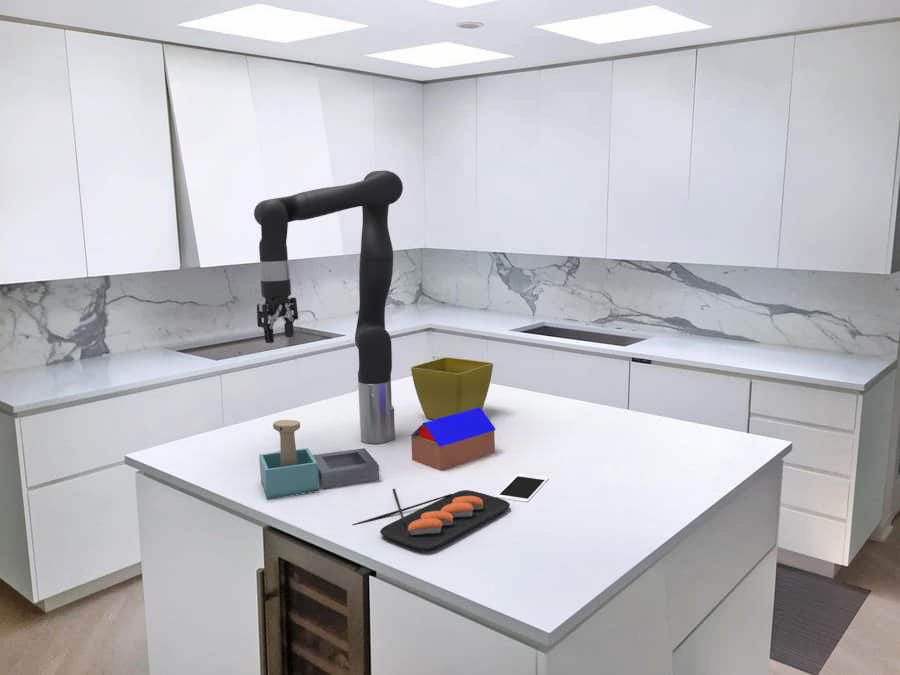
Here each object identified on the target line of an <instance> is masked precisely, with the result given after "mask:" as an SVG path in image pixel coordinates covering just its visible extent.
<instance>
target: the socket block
mask: <svg viewBox="0 0 900 675" xmlns="http://www.w3.org/2000/svg"><path fill="white" fill-rule="evenodd" d="M312 455H313V457H314V458H315V460H316V462H317V463H318V481H319V487H322V488H321V490H326V489H325V488H328V489H334V487H335V488H341V487H346V486H353V485H359V484H366V483H372V482H373V483H374V482H379V481H380V464H379V463H378V462H377V461H376V459H374V457H373V456H372V455H371V454H370V453H369V451H368V450H367V449H366V447H362V448H355V449H348V450H340V451H334V452H326V453H319V454H318V453H317V454H312Z"/></svg>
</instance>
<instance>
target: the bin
mask: <svg viewBox="0 0 900 675" xmlns="http://www.w3.org/2000/svg"><path fill="white" fill-rule="evenodd" d="M296 453H297V463H298V464H297V465H293V466H285V467H281V462H280V461H281V460H280V451H275V452H268V453H261V454H258V457H259V474H260V475H259V476H260V483H261V486H262V489H263V491H264V494H265V497H266V500H272V498H273V499H279V498H278V497H280V498H286V497H291V495H293V496H297V495H296V494H299V495H303V494H302V493H306V494H310V493H309V492H312V493H316V492H315V491H319V492H320V484H319V481H318V463H317V462H316V460H315V458H314V457H313V455H314V454H313V453H312V452H311V450H310V448H309V447H306V448H300V449H299V448H298V449H297V448H296ZM285 496H286V497H285Z"/></svg>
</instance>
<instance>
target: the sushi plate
mask: <svg viewBox="0 0 900 675" xmlns="http://www.w3.org/2000/svg"><path fill="white" fill-rule="evenodd" d="M392 493H393V495H394V500H395V502H396V504H397V507H398V510H394V511H392V512H388V513H385V514H381V515H378V516H375V517H371V518H368V519H365V520H362V521H359V522H355V523H352V526H356V525H361V524H364V523H365V524H366V523H370V522H373V521H377V520H378V521H379V520H381V519H385V518H387V517H389V516H393V515H396V514H398V513H399V514H400V516H401V518H399V519H396V520H395V521H393V522H390V523H388V524H387V525H385V526H383V527H382V528H381V529H380V530H379V533H380V535H382V536H383V537H384V538H387V539H388V540H389V539H390V540H391V541H393V542H397V543H399V544H402V545H405V546H408V547H410V548H413V549H416V550H421V551H430V550H433V549H436V548H438V547H440V546H443V545H445V544H447V543H448V542H451V541H452V540H454V539H455V538H457V537H459V536H461V535H463V534H465V533H466V532H468V531H471V530H472V529H474V528H476V527H477V526H479V525H481V524H483V523H485V522H487V521H489V520H491V519H492V518H494V517H496V516H498V515H499V514H501V513H503V512H505V511H506V510H508V508H510V507H511V504H510V502H509V501H507V500H506V499H502V498H496V496H493V495H489V494H486V493H482V492H478V491H475V490H470V489H469V490H468V489H467V490H466V489H464V490H458V491H456V492H453V493H449V494H446V495H442V496H440V497H437V498H433V499H431V500H427V501H424V502H420V503H417V504H414V505H412V506H408V507H404V508H402V507H401V505H400V501H399V498H398V495H397V490H396V488H392ZM431 502H432V503H431ZM429 503H430V504H429ZM426 504H428V505H426ZM423 505H426V506H424V507H421V508H420V509H418V510H417V509H416V510H415V511H413V512H411V513H409V514H407V515H404V514H403V512H405V511H408V510H410V509H413V508H417V507H420V506H423Z"/></svg>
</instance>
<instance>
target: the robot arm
mask: <svg viewBox="0 0 900 675" xmlns="http://www.w3.org/2000/svg"><path fill="white" fill-rule="evenodd" d="M403 190H404V187H403V182H402V179H401V178H400V176H399V175H397V174H396V173H395V172H392V171H390V170H384V169H383V170H373V171H371V172H369V173H367V174H366V175H365V177H364V178H363V180H360V181H356V182H352V183H349V184H343V185H337V186H327V187H322V188H315V189H311V190H306V191H303V192H299V193H296V194H293V195H289V196H288V195H287V196H283V197H281V196H280V197H275V198H269V199H266V200H265V199H264V200H261V201H259V202H258V204H257V205H255V208H254V211H253V216H254V220H255V221H256V223H257V224H258V225H260V228H261V230H260V232H261V239H260V240H259V244H258V245H259V246H258V251H259V254H258V255H259V278H260V279H259V280H260V289H261V290H260V292H261V297H262V298H264V299H265V300H264V303H257V304H256V321H257V328H261V329H263V335H264V341H265V343H267V344H274V342H275V338H274V328H273V327H274V324H275V322H277V320H278V319H279V318H282V320H283V321H284V325H283V326H284V337H285V338H294V322H295V321H296V320H298V318H299V311H298V302H297V297H292V286H291V273H290V272H291V270H290V265H289V259H288V257H289V255H288V244H287V239H288V230H289V223H291V222H295V221H306V220H312V219H316V218H319V217H324V216H326V215H330V214H334V213H338V212H341V211H345V210H349V209H354V208H359V207H362V208H361V209H362V210H361V211H362V227H361V240H360V243H361V244H360V254H359V270H358V271H359V273H358V278H359V280H358V282H359V283H358V286H359V287H358V290H359V291H358V292H359V309H358V314H357V315H358V316H357V321H356V322H357V323H356V329H355V333H354V343H355V346H356V348H357V349H358V371H357V382H358V386H357V388H358V404H359V405H358V406H359V428H360V431H359V432H360V441H361V442H363V443H365V444H384V443H387V442H390V441H394V440H396V429H395V428H396V426H395V407H394V406H393V404H392V403H393V402H392V401H393V400H392V379H391V378H392V376H391V375H392V370H393V353H392V352H393V350H392V346H393V345H392V338H391V335H390V333H389V332H388V331H387V329H386V319H385V317H386V315H385V314H386V313H385V312H386V304H387V303H386V302H387V298H388V296H389V293H390V292H389V291H390V289H391V285H392V281H393V275H394V274H393V270H394V249H393V248H394V247H393V244H392V241H391V236H390V235H391V234H390V232H389V226H388V224H389V222H388V221H389V220H388V218H389V209H390V208H389V207H390V205H392V204H394V203H396V202H397V201H398V200H399V199H400V198H401V197H402V194H403ZM290 296H291V297H290ZM262 318H263V320H262Z"/></svg>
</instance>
